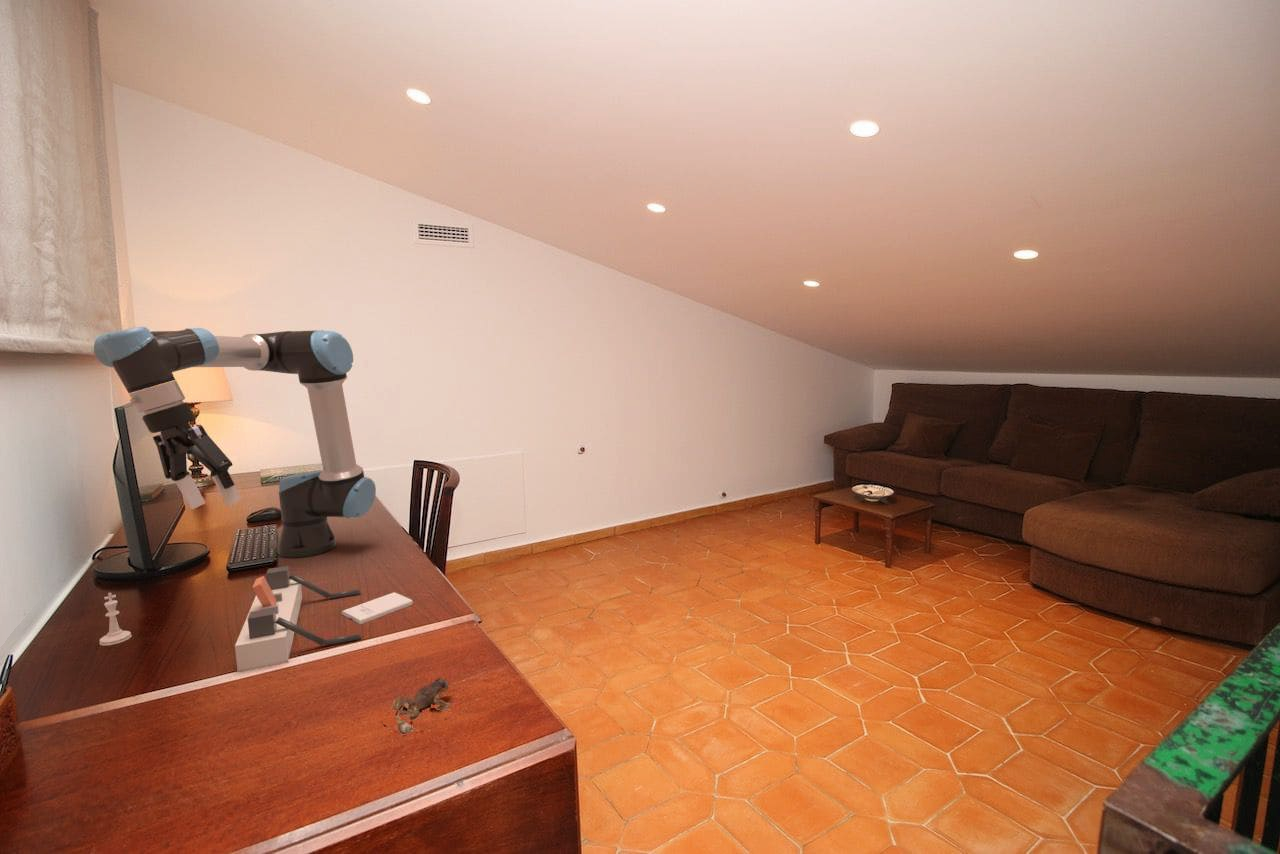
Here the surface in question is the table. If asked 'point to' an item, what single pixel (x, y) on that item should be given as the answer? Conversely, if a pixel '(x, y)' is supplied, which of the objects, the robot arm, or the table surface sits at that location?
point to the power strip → (279, 622)
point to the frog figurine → (420, 703)
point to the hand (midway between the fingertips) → (216, 504)
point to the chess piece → (113, 625)
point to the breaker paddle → (264, 592)
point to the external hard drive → (377, 607)
